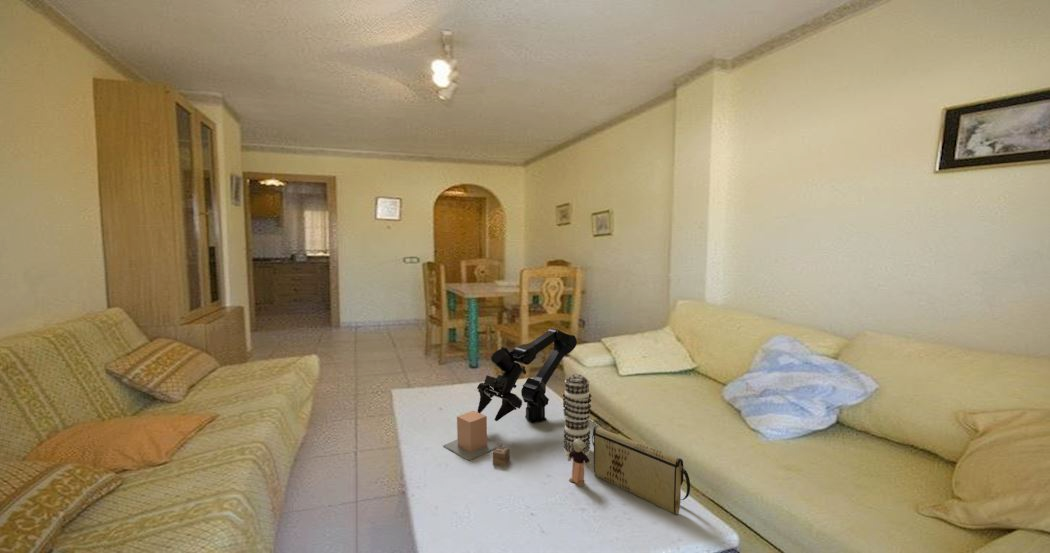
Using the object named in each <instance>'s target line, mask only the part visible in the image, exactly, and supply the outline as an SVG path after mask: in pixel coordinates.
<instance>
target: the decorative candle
mask: <svg viewBox="0 0 1050 553" xmlns="http://www.w3.org/2000/svg"><path fill="white" fill-rule="evenodd" d="M564 383H565V384H564V385H565V388H564V393H563V394H562V397H563V398H562V401H563V402H562V404H563V405H562V406H563V408H564V409H563V417H564V419H565V420H564V421H565V422H564V429H563V438H564V439H563V451H564V454H566V455H565V456H568V457H569V454H570V453H571V452H572V451H573V450H574V444H573V442H574V440H575V439H580V440H582V442H583V443H584V444H585V448H584V449H583V450H582V452H583V453H584V454H585V455H586V456H587V457H588V456H589V455H590V450H591V446H590V445H591V440H590V439H591V436H590V434H591V431H590V425H589V424H590V423H589V420H590V418H591V415H590V413H592V412H591V408H592V405H591V404H590V403H591V402H592V400H591V398H592V394H591V393H590V387H589V386H590V380H588V378H587V377H586V376H585V375H581V374H571V375H569V376H568V377H567V378H566V379H564ZM588 454H589V455H588Z"/></svg>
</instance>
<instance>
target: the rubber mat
mask: <svg viewBox="0 0 1050 553" xmlns="http://www.w3.org/2000/svg"><path fill="white" fill-rule="evenodd" d="M442 446H443V448H446V450H448V451H451V452H452V453H454V454H455V455H457V456H459V457H461V458H463V459H465V460H467V461H468V462H470V461H472V460H474V459H477V458H478V457H481V456H483V455H485V454H488V453H489V452H491V451H492V452H493V451H494V450H495V449H496V448H497V447H498V446H499V447H502V444H501V443H499V442H497V441H496V440H492V439H491V438H489V437H487V445H485V446H483V447H481V448H479V449H477V450H474V451H472V452H470V451H468V450H466V449H464V448H462V447H460V446H458V438H457V439H455V440H453V441H451V442H448V443H445V444H443V445H442Z"/></svg>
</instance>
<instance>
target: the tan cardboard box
mask: <svg viewBox="0 0 1050 553" xmlns="http://www.w3.org/2000/svg"><path fill="white" fill-rule="evenodd" d="M487 420H488V418H487V415H485V414H482V413H478V412H477V411H475V410H471V411H469V412H465V413H463V414H459V415H458V416H456V425H457V426H456V429H457V430H456V431H457V432H456V433H457V437H456V438H457V439H458V446H460V447H462V448H464V449H466V450H468V451H470V452H472V451H474V450H477V449H479V448H481V447H483V446H485V445H487V438H488V429H487V428H488V427H487V426H488V425H487Z"/></svg>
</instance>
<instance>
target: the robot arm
mask: <svg viewBox="0 0 1050 553" xmlns="http://www.w3.org/2000/svg"><path fill="white" fill-rule="evenodd" d="M551 344H553V350H551V353H550V354H549V356H548V357H547V358H546V360H545V362H544V363H543V365H542V366H541V368H540V369H539V371H538V373H536V375H535V377H533V378H532V377H528V378H526V381H525V382H524V383H523V385H522V388H521V390H520V392H521V397H522V398H520V397H519V396H518V395H517V394H516V393H513V392H512V390H513V389H516V388H517V385H516V383H517V381H518V380H519V378H520V376H521V374H523V375H526V374H527V371H526V366H524V365H530V364H531V363H532V362H533V361H535V359H536V358H537V355H538V354H539V353H540V352H541V351H543V350H544V349H546V348H547V347H549V346H550V345H551ZM577 344H578V340H577V337H576V336H575V335H573V334H569V333H566V332H563V331H561V330H560V329H558V328H557V329H556V328H548V329H547V331H546V332H544V333H543V334H541V335H539V336H538V337H537V338H535V339H534V340H532V341H530V342H528V343H525V344H524V343H523V344H520V345H518V346H515V347H514V348H513V350H511V351H509V350H508V348H507V347H505V346H502V347H501V348H500V349H497V350H496V351H495V352H493V354H492V355H491V357H490V359H491V362H492V363H493V364H494V366H496V367H497V368H498V369H499V370H500V371H501V372H502V374H498V375H497V377H495V376H491V375H486V376H485V379H484V382H481V383H479V384H478V385H477V387H476V389H477V392H478V393H479V397H480V398H479V402H478V408H477V411H476V412H478V413H480V414H482V412H483V411H484V410H485V408H487V406H488V405H490V403H491V402H492V400H493V398H494V397H496V398H499V399H501V406H500V408H499V409H498V411H497V413H496V415H495V416H494V421H496V422H498V421H500V419H502V418H504V417H505V416H506V415H508V414H510V413H512V412H513V411H516V410H517V409H521V407H522V406H523V402H524V403H526V407H525V416H524V417H525V418H526V419H527V421H529V423H531V424H535V423H538V422H539V423H540V422H545V421H547V420H548V419H547V417H546V406H547V405H548V404H549V402H550V399H549V397H548V396H547V395H546V391H547V390H546V389H547V388H546V387H547V384H548V382H549V381H550V379H551V377H552V376H553V374H554V373H555V371H556V370H557V368H558V366H559V364H560V363H561V361H562V360H563V359H564V357H565V356H567V355H569V354H570V353H572V351H574V349H575V348H576V347H577ZM521 364H522V365H521ZM522 399H523V400H522Z"/></svg>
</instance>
